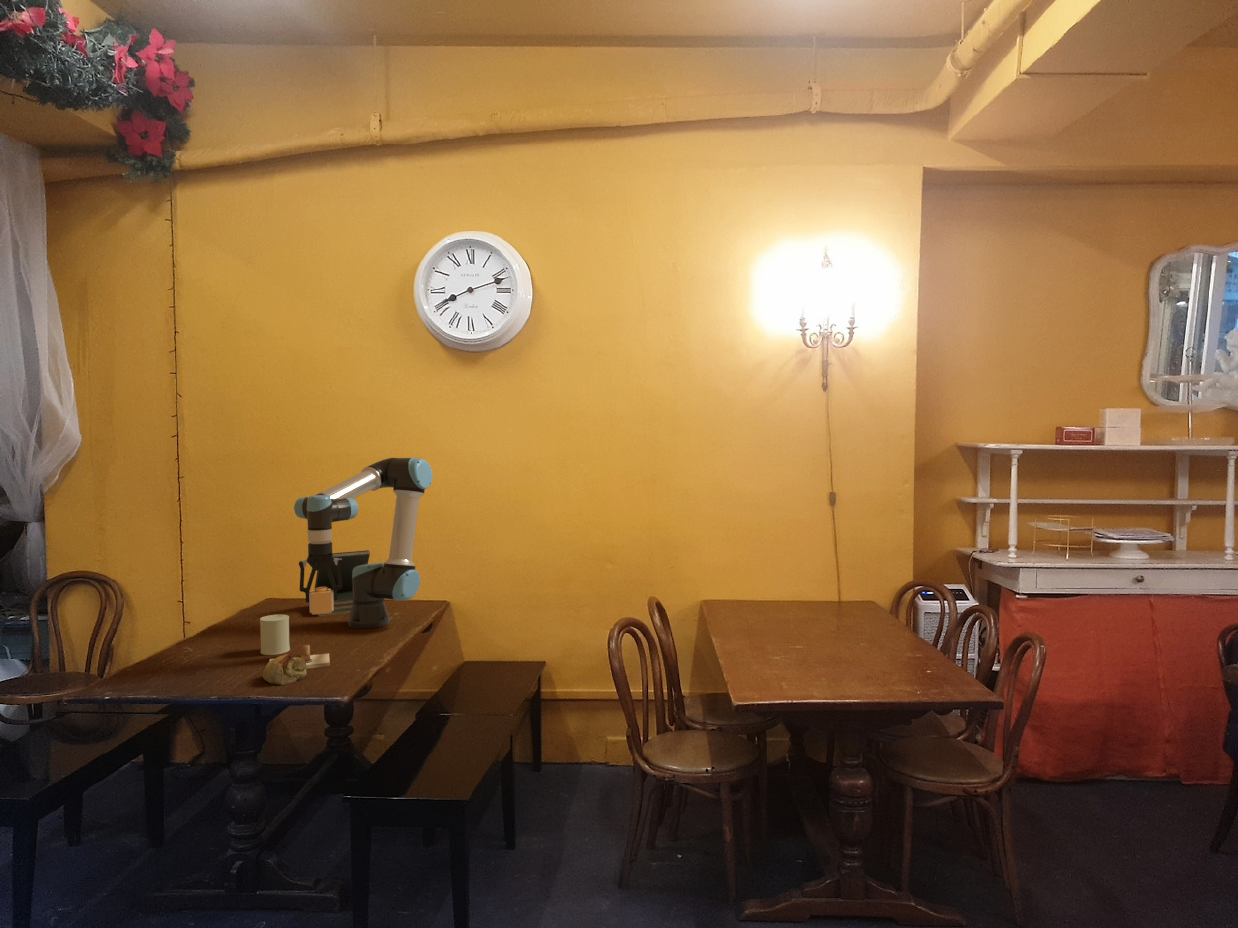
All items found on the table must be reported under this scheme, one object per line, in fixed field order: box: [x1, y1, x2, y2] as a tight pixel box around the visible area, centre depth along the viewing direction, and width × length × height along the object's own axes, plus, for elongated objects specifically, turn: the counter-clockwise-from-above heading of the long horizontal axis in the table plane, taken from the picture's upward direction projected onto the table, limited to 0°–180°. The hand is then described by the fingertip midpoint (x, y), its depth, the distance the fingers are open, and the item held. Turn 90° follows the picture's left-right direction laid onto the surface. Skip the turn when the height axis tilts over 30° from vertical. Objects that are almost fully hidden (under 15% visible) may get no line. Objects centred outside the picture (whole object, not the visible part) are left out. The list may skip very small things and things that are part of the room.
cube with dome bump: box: [311, 587, 332, 615], centre depth 266 cm, size 6×6×8 cm
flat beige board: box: [268, 644, 331, 670], centre depth 255 cm, size 18×11×6 cm, turn 111°
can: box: [259, 614, 291, 656], centre depth 270 cm, size 9×9×12 cm
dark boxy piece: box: [308, 549, 371, 618], centre depth 333 cm, size 23×20×25 cm
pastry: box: [261, 652, 308, 686], centre depth 242 cm, size 14×12×8 cm
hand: (321, 610), depth 266 cm, fingers closed on cube with dome bump, 6 cm apart
